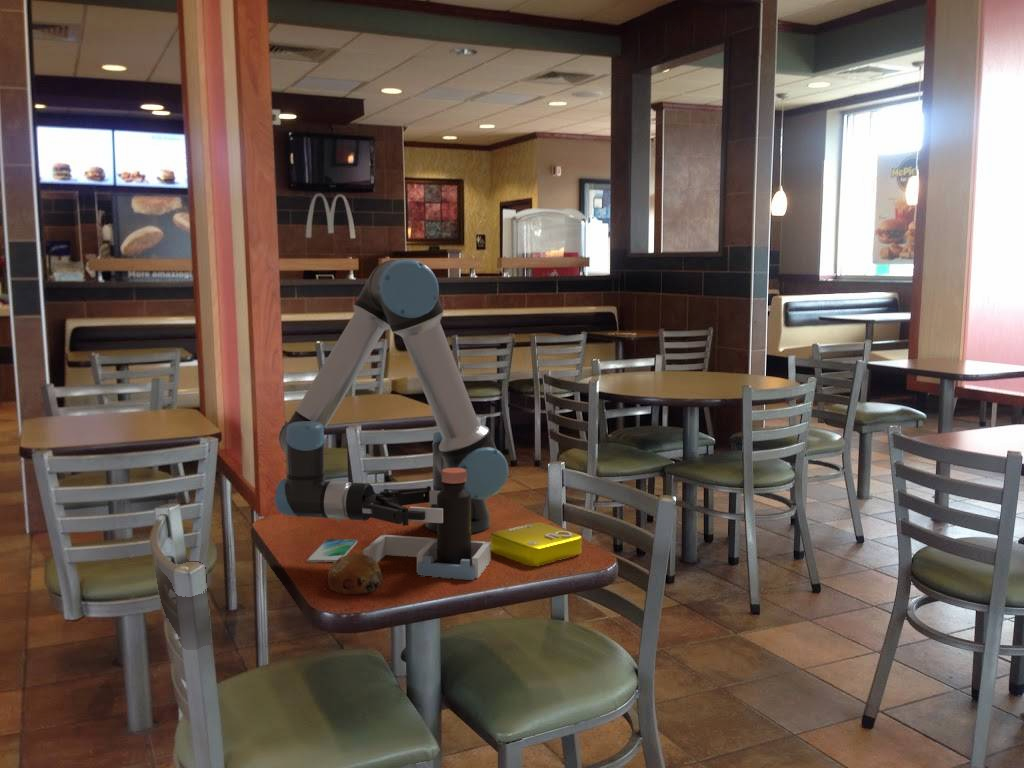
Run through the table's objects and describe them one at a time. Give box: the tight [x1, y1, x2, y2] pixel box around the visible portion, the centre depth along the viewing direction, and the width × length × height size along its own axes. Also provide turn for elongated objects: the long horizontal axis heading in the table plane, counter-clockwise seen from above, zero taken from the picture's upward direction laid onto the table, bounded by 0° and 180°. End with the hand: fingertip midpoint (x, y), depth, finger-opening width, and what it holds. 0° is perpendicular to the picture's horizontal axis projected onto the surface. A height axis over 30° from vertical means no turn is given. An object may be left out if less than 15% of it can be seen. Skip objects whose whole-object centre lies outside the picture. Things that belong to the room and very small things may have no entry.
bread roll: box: [327, 553, 383, 596], centre depth 169 cm, size 10×10×8 cm
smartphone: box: [306, 538, 358, 564], centre depth 190 cm, size 7×1×15 cm
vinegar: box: [436, 468, 472, 566], centre depth 179 cm, size 7×7×20 cm
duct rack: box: [362, 534, 492, 581], centre depth 180 cm, size 12×24×4 cm, turn 78°
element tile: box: [490, 521, 583, 567], centre depth 190 cm, size 15×15×5 cm
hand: (452, 507), depth 178 cm, fingers open, 13 cm apart
